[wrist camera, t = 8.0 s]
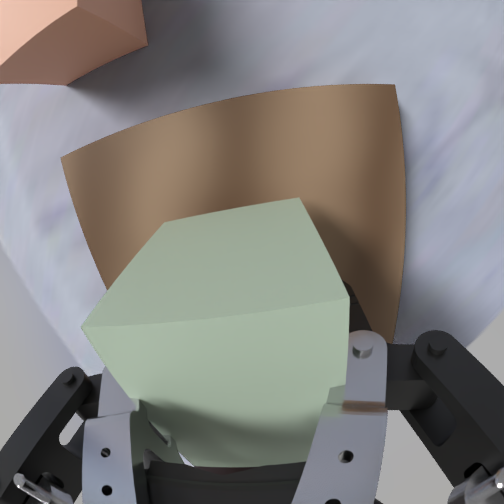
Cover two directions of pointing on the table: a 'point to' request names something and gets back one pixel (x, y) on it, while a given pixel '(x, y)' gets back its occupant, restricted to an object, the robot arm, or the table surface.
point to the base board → (259, 179)
